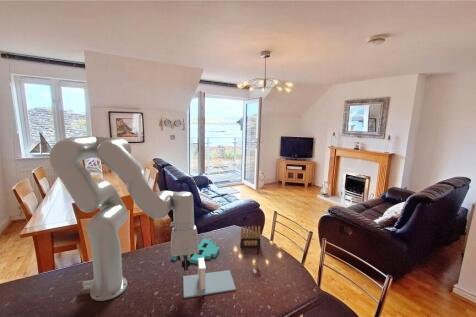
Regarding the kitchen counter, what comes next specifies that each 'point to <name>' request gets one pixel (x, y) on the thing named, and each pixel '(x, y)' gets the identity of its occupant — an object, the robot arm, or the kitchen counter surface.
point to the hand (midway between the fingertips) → (185, 268)
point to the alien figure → (204, 251)
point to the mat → (208, 284)
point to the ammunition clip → (250, 238)
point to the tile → (201, 273)
